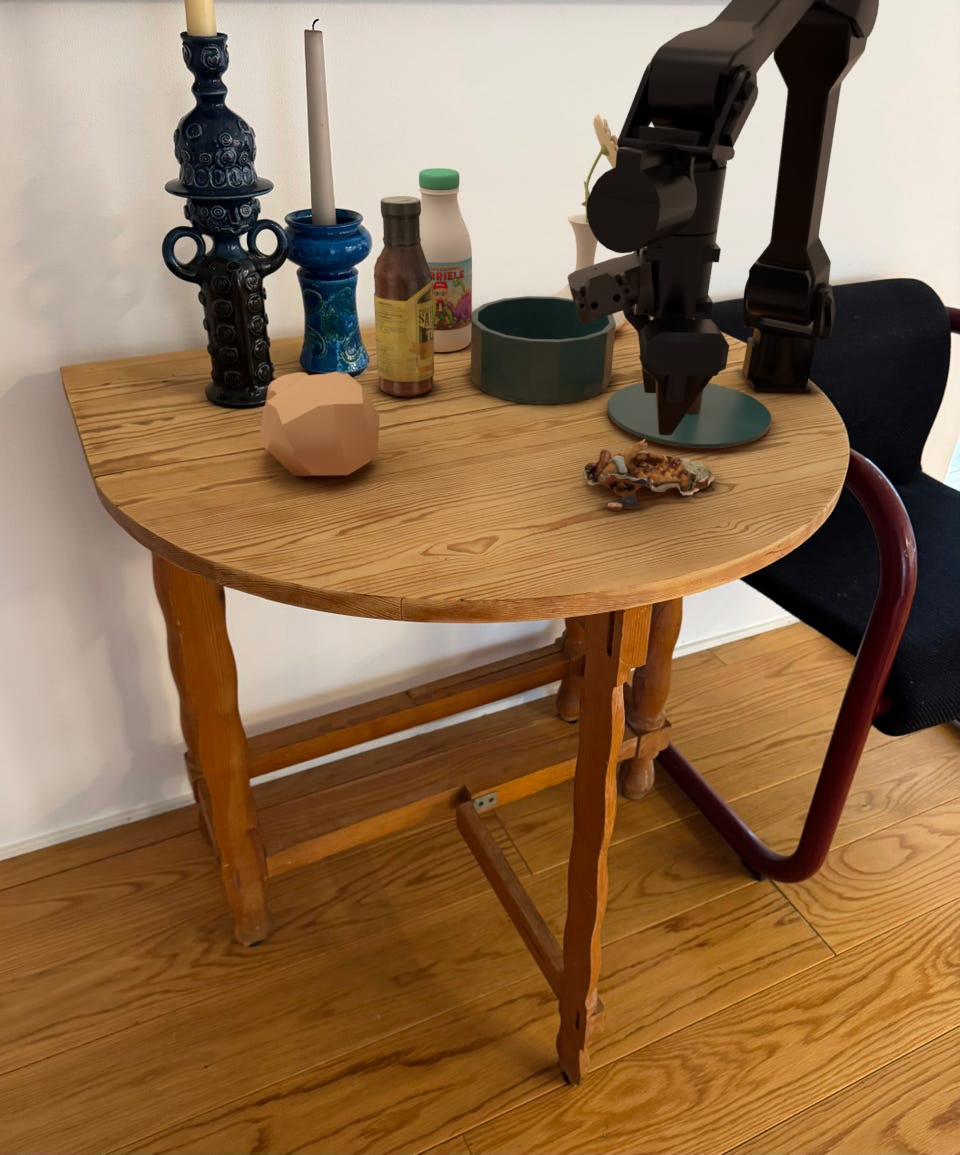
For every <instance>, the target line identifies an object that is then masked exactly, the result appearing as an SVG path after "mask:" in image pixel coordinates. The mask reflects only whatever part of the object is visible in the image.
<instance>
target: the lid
mask: <svg viewBox="0 0 960 1155" xmlns="http://www.w3.org/2000/svg"><path fill="white" fill-rule="evenodd" d="M606 410H607V414H608V417H609V418H610V420H611V421H612V422H613V423H614V424H615V425H616V426H618V427H619V428H621V429H622V430H624V431H626V432H627V433H630V434H631V435H634V436H636V437H638V438H641V439H643V440H644V439H645V440H647V441H651V442H653V443H658V444H663V445H667V446H674V447H679V448H690V449H721V448H724V449H725V448H731V447H737V446H741V445H745V444H748V443H749V444H750V443H751V442H754V441H756V440H758V439H760V438H761V437H763V436H764V435H766V433H768V431H769V429H770V427H771V424H772V415H771V413H770V410H769V409H768V407H766V406H765V405H764V404H763V403H762V402H761V401H759V400H758V399H756V398H754V397H753V396H751V395H749V394H746V393H744V392H742V391H739V390H736V389H734V388H731V387H728V386H724V385H719V384H715V383H711V382H709V383H708V384H707V385H706V387H705V388H704V389H703V390H702V392H701V393H700V394H699V396H698V397H697V399H696V400H695V401H694V403H693V404H692V406H691V407H690V409H689V410H688V412H687V413H686V415H685V416H684V418H683V419H682V420H681V422H680V423H679V425H678V426H677V428H676V429H675V431H674V432H673V434H672V435H660V434H659V432H658V421H657V404H656V393H646V392H645V391H644V384H643V381H642V382H637V383H634V384H630V385H627V386H625V387H622V388H621V389H618V390H616V391H615V392H614V393H612V395H611V396H610V397H609V399H608V401H607V405H606Z"/></svg>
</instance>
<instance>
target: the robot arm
mask: <svg viewBox="0 0 960 1155" xmlns="http://www.w3.org/2000/svg"><path fill="white" fill-rule="evenodd" d="M879 6H880V0H731V1H730V2H728V4H727V5H726V6H725V7H724V8H723V10H722V11H721V12H720V13H719V14H718V15H717V16H716V17H715V18H714V20H712V21H711V22H710V23H708V24H706V25H703V26H699V27H696V28H693V29H689V30H687V31H682V32H680V33H678V34H677V35H675V36H674V37H672V38H671V39H669V40H668V41H667V42H665V43H663V44H662V45H661V46H660V47H659V48H657V50H656V51H655V53H654V55H653V56H652V58H651V60H650V61H649V63H648V64H647V65H646V67H645V69H644V71H643V74H642V76H641V79H640V81H639V84H638V87H637V89H636V92H635V94H634V96H633V99H632V102H631V105H630V107H629V110H628V112H627V115H626V116H625V120H624V122H623V125H622V128H621V131H620V133H619V136H618V137H617V139H618V141H617V146H618V150H617V154H616V166H615V168H613V167H612V168H610V169H609V170H607V171H605V172H604V173H602V174H601V175H600V176H599V177H598V178H597V180H596V181H595V183H594V185H593V186H592V188H591V190H590V192H589V193H590V196H589V197H588V199H587V218H588V222H589V226H590V228H591V231H592V233H593V235H594V236H595V237H596V239H597V240H598V243H599V244H601V245H602V246H603V247H604V248H605V249H606V250H610V251H611V252H614V253H617V254H625V255H622V256H616V257H613V258H610V259H609V258H608V259H607V260H604V261H601V262H599V263H598V262H597V263H594V265H592V266H589V267H586V268H583V269H580V270H577V271H575V270H574V271H573V272H571V273H569V274H568V275H567V282H568V284H569V287H570V291H571V294H572V297H573V301H574V304H575V308H576V311H577V314H578V318H579V321H580V323H581V324H591V323H594V322H597V321H598V320H599V318H602V317H605V316H608V315H611V314H614V313H617V312H620V311H623V313H624V316H625V319H626V320H627V322H628V323H629V324H630V325H631V326H632V328H633V329H634V330H635V332H637V337H638V345H639V346H638V347H639V355H638V358H639V361H640V364H641V374H642V382H643V384H644V391H645V392H646V393H656V404H657V421H658V432H659V434H660V435H672V434H673V432H674V431H675V429H676V428H677V426H678V425H679V423H680V422H681V420H682V419H683V418H684V416H685V415H686V413H687V412H688V410H689V409H690V407H691V406H692V404H693V403H694V401H695V400H696V399H697V397H698V396H699V394H700V393H701V392H702V390H703V389H704V388H705V387H706V385H707V384H708V383H710V382H711V380H712V379H713V378H714V377H717V376H718V375H719V373H720V372H722V371H725V370H726V369H727V365H728V364H727V362H728V358H729V352H730V344H729V343H728V341H727V339H726V337H725V336H724V333H722V331H721V329H720V328H719V327H718V326H717V325H716V324H715V323H714V321H713V320H712V319H710V318H695V317H696V315H707V316H708V315H712V311H713V304H714V302H713V300H712V298H711V296H710V295H709V290H710V283H711V278H712V270H713V263H720V257H721V250H722V249H721V247H720V246H719V244H718V243H717V235H718V230H719V222H720V215H721V208H722V202H723V201H722V200H723V195H724V189H725V181H726V175H727V168H728V167H727V165H728V161H731V160H733V159H734V157H735V153H736V150H735V148H734V147H735V145H736V142H737V141H738V138H739V137H740V134H742V130H743V128H744V126H745V125H746V122H747V121H748V119H749V116H750V114H751V112H752V110H753V108H754V106H755V104H756V102H757V100H758V96H759V87H758V76H757V74H758V73H759V70H760V69H761V67H763V65H764V64H765V63H766V61H768V59H769V58H770V57H771V55H772V54H773V55H772V57H773V60H774V63H775V65H776V67H777V70H778V72H779V74H780V76H781V78H782V80H783V82H784V85H785V87H786V89H787V90H786V91H787V93H786V102H785V112H784V120H783V129H782V137H781V145H780V146H781V147H780V155H779V164H778V170H777V171H778V172H777V179H776V180H777V182H776V190H775V197H774V207H773V215H772V216H773V218H772V224H771V234H770V240H769V243H768V244H767V246H766V247H765V249H763V251H762V253H761V254H760V255H759V256H758V258H756V260H755V262H753V264H752V265H751V267H750V268H749V270H748V277H747V280H746V283H745V285H744V291H743V307H742V310H743V312H742V317H743V318H742V327H744V328H752V329H753V335H752V337H748V338H747V341H746V348H745V353H744V359H743V364H742V371H741V372H742V374H743V376H744V377H745V379H746V380H747V382H748V383H749V386H750V387H751V388H752V390H753V391H755V392H775V393H776V392H779V393H781V392H782V393H811V392H812V391H813V386H812V385H811V384H810V382H809V379H810V374H811V369H812V364H813V359H814V355H815V350H816V345H817V342H818V341H820V340H829V339H830V338H831V336H832V331H833V327H834V324H835V317H836V313H837V312H836V311H837V310H836V304H835V298H834V293H833V292H834V291H833V286H832V285H831V283H830V276H831V267H832V266H831V265H832V262H831V259H830V257H829V255H828V253H827V251H826V249H825V246H824V244H823V243H822V241H821V238H820V231H821V230H820V229H821V224H822V216H823V209H824V203H825V202H824V201H825V197H826V196H825V195H826V189H827V182H828V175H829V169H830V163H831V162H830V161H831V156H832V148H833V142H834V135H835V130H836V129H835V128H836V122H837V114H838V109H839V102H840V94H841V88H842V83H843V81H845V79H846V78H847V76H848V74H849V73H850V72H851V71H852V69H853V68H854V66H855V65H856V63H858V61H859V60H860V58H861V57H862V55H863V54H864V52H865V50H866V47H867V42H868V38H869V37H870V35H872V33H873V30H874V27H875V25H876V23H877V22H876V21H877V17H878V14H879ZM651 124H652V126H650V125H651Z"/></svg>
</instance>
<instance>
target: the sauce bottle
mask: <svg viewBox="0 0 960 1155" xmlns="http://www.w3.org/2000/svg"><path fill="white" fill-rule="evenodd" d="M380 213H381V217H382V224H383V225H382V227H383V229H382V230H383V237H382V242H383V247H382V250H381V252H380V253H379V255H378V256H377V258H376V261H375V264H374V266H373V279H374V293H373V304H374V325H375V326H374V327H375V348H376V349H375V350H376V352H375V353H376V369H377V371H376V372H377V375H378V386H379V389H380V390H381V391H382V392H384V393H385V394H388V395H391V396H394V397H415V396H418V395H424V393H425V394H426V393H428V392H429V391H430V390H431V389H432V388H433V386H434V375H435V352H434V330H433V329H434V326H433V321H434V319H433V278H432V275H431V272H430V270H429V267H428V264H427V261H426V258H425V255H424V252H423V249H422V247H421V243H420V242H421V239H420V223H419V216H420V214H421V199H420V198H418V197H416V196H415V197H414V196H410V195H409V196H408V195H395V196H387V197H383V198H381V199H380Z"/></svg>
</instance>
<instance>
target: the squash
mask: <svg viewBox="0 0 960 1155" xmlns="http://www.w3.org/2000/svg"><path fill="white" fill-rule="evenodd" d="M265 400H266V401H265V403H264V406H263V410H262V415H261V416H262V417H261V422H260V428H259V435H258V441H257V442H258V443H259V444H260V446H262V447H263V448H264V449H265V450H266V451H267V452H268V453H269V454H271V455H272V456H273V457H274V458H275V459H276V460H277V461H278V463H280V464H281V465H282V466H283V467H284V468H285V469H286V470H287V471H289V473H291V475H293V477H323V476H325V477H326V476H327V477H328V476H349V475H350V474H352V473H354V472H355V471H357V470H359V469H361V468H362V467H364V466H365V465H367V464H368V463H369V462H370V460H372V458H373V457H374V456H375V454H377V452H378V451H379V447H380V443H379V442H380V413H379V412H378V411H377V409H376V407H375V406H374V404H373V402H372V401H371V399H370V398H369V396H368V395H367V392H366V391H365V389H364V387H363V386H362V385H361V384H360V383H359V382H358V381H357V380H355V379H354V378H353V377H352V376H351V375H350V374H349V373H348V372H346V373H344V372H342V373H340V372H339V371H333V372H327V373H319V374H311V375H309V374H308V373H307V372H302V371H299V372H293V373H288V374H283V375H281V376H279V377H277V378H275V379H274V380H272V381H270V383H269V384H268V386H267V392H266V399H265Z"/></svg>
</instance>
